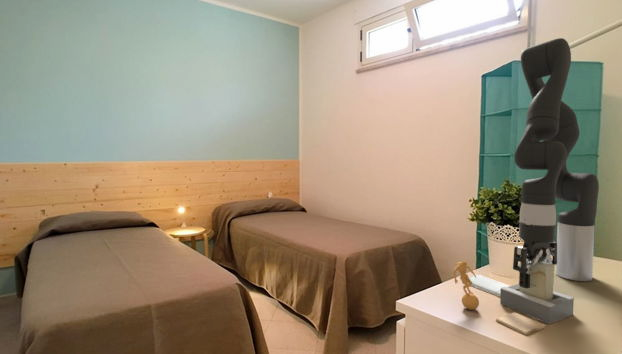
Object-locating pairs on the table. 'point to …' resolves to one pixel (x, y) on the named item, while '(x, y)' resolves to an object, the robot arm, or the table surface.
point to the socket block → (537, 304)
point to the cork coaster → (520, 323)
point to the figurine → (469, 298)
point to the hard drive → (487, 284)
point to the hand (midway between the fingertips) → (534, 284)
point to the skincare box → (541, 281)
